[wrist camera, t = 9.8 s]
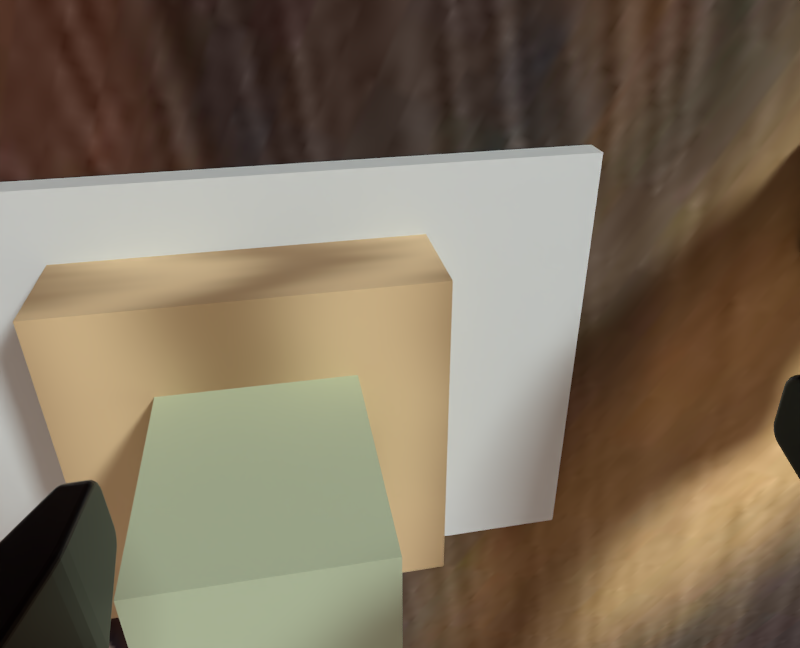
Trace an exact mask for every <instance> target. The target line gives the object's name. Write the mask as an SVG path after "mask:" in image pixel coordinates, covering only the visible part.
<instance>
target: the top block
mask: <svg viewBox="0 0 800 648" xmlns="http://www.w3.org/2000/svg"><path fill="white" fill-rule="evenodd" d="M114 604H115V607H116V610H117V614H118V617H119V620H120V623H121V626H122V630H123V633H124V636H125V639H126V642H127V645H128V648H403V635H402V555H401V550H400V546H399V542H398V538H397V534H396V530H395V526H394V522H393V518H392V513H391V509H390V505H389V501H388V497H387V493H386V489H385V485H384V480H383V476H382V472H381V468H380V464H379V460H378V456H377V452H376V448H375V443H374V439H373V435H372V431H371V427H370V423H369V419H368V415H367V411H366V406H365V402H364V398H363V394H362V390H361V386H360V382H359V378H358V375H353V376H343V377H334V378H325V379H316V380H307V381H298V382H288V383H279V384H270V385H261V386H252V387H243V388H233V389H224V390H215V391H206V392H197V393H188V394H179V395H169V396H160V397H154V401H153V406H152V411H151V416H150V421H149V426H148V431H147V436H146V441H145V446H144V451H143V456H142V461H141V466H140V471H139V476H138V481H137V486H136V491H135V496H134V501H133V506H132V511H131V516H130V521H129V526H128V531H127V536H126V541H125V546H124V551H123V556H122V561H121V566H120V571H119V576H118V581H117V586H116V591H115V596H114Z"/></svg>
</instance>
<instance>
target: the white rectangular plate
mask: <svg viewBox="0 0 800 648" xmlns="http://www.w3.org/2000/svg"><path fill="white" fill-rule="evenodd" d="M602 157H603V152H602V151H600V150H599V149H597V148H595V147H594V146H592V145H578V146H562V147H546V148H530V149H514V150H499V151H483V152H467V153H451V154H436V155H420V156H404V157H388V158H372V159H357V160H341V161H325V162H309V163H294V164H278V165H262V166H246V167H230V168H215V169H199V170H183V171H167V172H152V173H136V174H120V175H104V176H89V177H73V178H57V179H41V180H25V181H10V182H0V541H1V540H2V539H3V538H4V537H6V536H7V535H8V534H9V533H10V532H11V531H12V530H13V529H14V528H15V527H16V526H17V525H18V524H19V523H20V522H21V521H22V520H23V519H24V518H25V517H26V516H27V515H28V514H29V513H30V512H31V511H32V510H33V509H34V508H35V507H36V506H37V505H38V504H39V503H40V502H41V501H42V500H43V499H44V498H45V497H46V496H47V495H48V494H49V493H50V492H52V491H53V490H54V489H55V488H56V487H57V486H59V485H61V484H64V483H66V482H65V479H64V476H63V472H62V469H61V466H60V463H59V460H58V457H57V454H56V451H55V448H54V445H53V442H52V439H51V436H50V433H49V430H48V427H47V424H46V421H45V418H44V415H43V412H42V409H41V406H40V403H39V400H38V397H37V394H36V391H35V388H34V385H33V382H32V378H31V375H30V372H29V369H28V366H27V363H26V360H25V357H24V354H23V351H22V348H21V345H20V342H19V339H18V336H17V333H16V330H15V327H14V324H13V321H14V319H15V317H16V315H17V314H18V312H19V310H20V309H21V307H22V305H23V304H24V302H25V300H26V299H27V297H28V295H29V294H30V292H31V290H32V289H33V287H34V285H35V284H36V282H37V280H38V278H39V277H40V275H41V273H42V272H43V270H44V268H45V267H46V265H53V264H66V263H78V262H90V261H102V260H115V259H127V258H139V257H152V256H164V255H176V254H188V253H201V252H213V251H225V250H237V249H250V248H262V247H274V246H286V245H299V244H311V243H323V242H335V241H348V240H360V239H372V238H384V237H397V236H409V235H421V234H426V235H427V237H428V238H429V240H430V242H431V244H432V245H433V247H434V249H435V251H436V252H437V254H438V256H439V258H440V259H441V261H442V263H443V265H444V266H445V268H446V270H447V272H448V273H449V275H450V277H451V279H452V280H453V291H452V322H451V352H450V383H449V413H448V444H447V475H446V505H445V536H448V535H455V534H462V533H468V532H475V531H481V530H488V529H495V528H501V527H508V526H514V525H521V524H527V523H534V522H541V521H547V520H552V518H553V511H554V504H555V496H556V489H557V482H558V475H559V468H560V460H561V453H562V446H563V439H564V431H565V424H566V417H567V410H568V403H569V395H570V388H571V381H572V374H573V367H574V359H575V352H576V345H577V338H578V330H579V323H580V316H581V309H582V302H583V294H584V287H585V280H586V273H587V265H588V258H589V251H590V244H591V237H592V229H593V222H594V215H595V208H596V201H597V193H598V186H599V179H600V172H601V164H602Z"/></svg>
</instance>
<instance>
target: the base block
mask: <svg viewBox="0 0 800 648" xmlns="http://www.w3.org/2000/svg"><path fill="white" fill-rule="evenodd" d="M452 291H453V280H452V279H451V277H450V275H449V273H448V272H447V270H446V268H445V266H444V265H443V263H442V261H441V259H440V258H439V256H438V254H437V252H436V251H435V249H434V247H433V245H432V244H431V242H430V240H429V238H428V237H427V235H426V234H421V235H409V236H397V237H384V238H372V239H360V240H348V241H335V242H323V243H311V244H299V245H286V246H274V247H262V248H250V249H237V250H225V251H213V252H201V253H188V254H176V255H164V256H152V257H139V258H127V259H115V260H102V261H90V262H78V263H66V264H53V265H46V267H45V268H44V270H43V272H42V273H41V275H40V277H39V278H38V280H37V282H36V284H35V285H34V287H33V289H32V290H31V292H30V294H29V295H28V297H27V299H26V300H25V302H24V304H23V305H22V307H21V309H20V310H19V312H18V314H17V315H16V317H15V319H14V321H13V324H14V327H15V330H16V333H17V336H18V339H19V342H20V345H21V348H22V351H23V354H24V357H25V360H26V363H27V366H28V369H29V372H30V375H31V378H32V382H33V385H34V388H35V391H36V394H37V397H38V400H39V403H40V406H41V409H42V412H43V415H44V418H45V421H46V424H47V427H48V430H49V433H50V436H51V439H52V442H53V445H54V448H55V451H56V454H57V457H58V460H59V463H60V466H61V469H62V472H63V476H64V479H65V482H66V483H71V482H78V481H84V480H93V481H96V482H97V483H98V484H99V486H100V487H101V490H102V493H103V495H104V498H105V501H106V504H107V507H108V510H109V513H110V516H111V518H112V521H113V524H114V527H115V531H116V538H117V552H116V564H115V576H114V588H113V600H112V612H111V619H112V618H119V617H118V614H117V610H116V607H115V604H114V596H115V591H116V586H117V581H118V576H119V571H120V566H121V561H122V556H123V551H124V546H125V541H126V536H127V531H128V526H129V521H130V516H131V511H132V506H133V501H134V496H135V491H136V486H137V481H138V476H139V471H140V466H141V461H142V456H143V451H144V446H145V441H146V436H147V431H148V426H149V421H150V416H151V411H152V406H153V401H154V397H160V396H169V395H179V394H188V393H197V392H206V391H215V390H224V389H233V388H243V387H252V386H261V385H270V384H279V383H288V382H298V381H307V380H316V379H325V378H334V377H343V376H353V375H358V378H359V382H360V386H361V390H362V394H363V398H364V402H365V406H366V411H367V415H368V419H369V423H370V427H371V431H372V435H373V439H374V443H375V448H376V452H377V456H378V460H379V464H380V468H381V472H382V476H383V480H384V485H385V489H386V493H387V497H388V501H389V505H390V509H391V513H392V518H393V522H394V526H395V530H396V534H397V538H398V542H399V546H400V550H401V555H402V572H408V571H415V570H421V569H427V568H434V567H440V566H444V536H445V505H446V475H447V444H448V413H449V383H450V352H451V322H452Z"/></svg>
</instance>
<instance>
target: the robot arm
mask: <svg viewBox="0 0 800 648" xmlns="http://www.w3.org/2000/svg"><path fill="white" fill-rule="evenodd" d="M774 434H775V437H776V440H777V442H778V444H779V446H780V447H781V449H782V451H783V452H784V454H785V456H786V457H787V459H788V461H789V462H790V464H791V465H792V467H793V469H794V470H795V472H796V474H797V475H798V477H799V479H800V375H795V376H793V377H791V378H790V379H789V380H788V381H787V382H786V384H785V386H784V390H783V393H782V397H781V400H780V404H779V407H778V411H777V414H776V417H775V421H774ZM116 552H117V538H116V531H115V527H114V524H113V521H112V518H111V516H110V513H109V510H108V507H107V504H106V501H105V498H104V495H103V493H102V490H101V487H100V486H99V484H98V483H97V482H96V481H93V480H84V481H78V482H71V483H64V484H61V485H59V486H57V487H56V488H55V489H54V490H53V491H52V492H50V493H49V494H48V495H47V496H46V497H45V498H44V499H43V500H42V501H41V502H40V503H39V504H38V505H37V506H36V507H35V508H34V509H33V510H32V511H31V512H30V513H29V514H28V515H27V516H26V517H25V518H24V519H23V520H22V521H21V522H20V523H19V524H18V525H17V526H16V527H15V528H14V529H13V530H12V531H11V532H10V533H9V534H8V535H7V536H6V537H4V538H3V539H2V540H1V541H0V648H109V637H110V625H111V612H112V600H113V588H114V576H115V564H116Z"/></svg>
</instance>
